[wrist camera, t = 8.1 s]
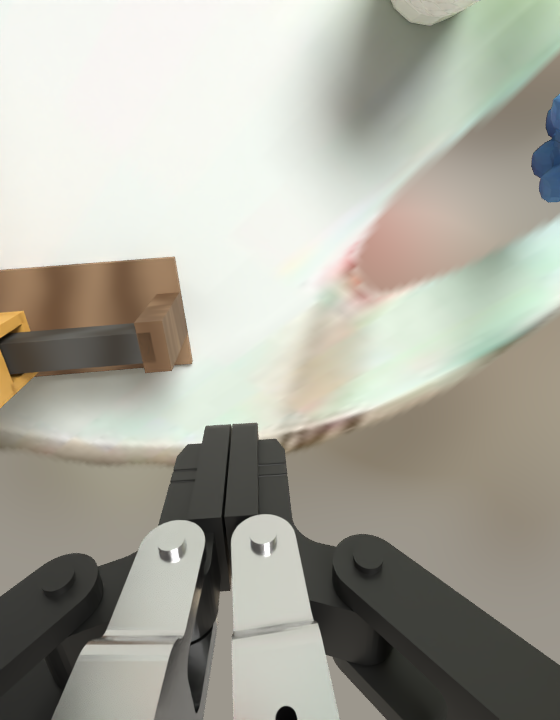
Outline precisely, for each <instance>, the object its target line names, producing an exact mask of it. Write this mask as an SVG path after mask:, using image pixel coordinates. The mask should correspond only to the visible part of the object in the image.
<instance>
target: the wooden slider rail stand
mask: <svg viewBox="0 0 560 720" xmlns="http://www.w3.org/2000/svg"><path fill="white" fill-rule="evenodd" d="M16 311H24V313H25V316H26V319H27V322H28V325H29V328H30V332H17V333H7V334H6V335H4V336H3V337H1V338H0V350H1V353H2V355H3V358H4V361H5V363H6V366H7V368H8V371H9V373H10V374H21V373H33V372H38V373H37V374H36V375H35V376H34V377H37V376H49V375H61V374H73V373H85V372H97V371H109V370H121V369H133V368H144V369H145V373H150V372H162V371H172V369H173V367H174V365H181V364H192V361H193V360H192V354H191V349H190V343H189V337H188V331H187V325H186V319H185V313H184V308H183V302H182V296H181V290H180V284H179V278H178V272H177V267H176V261H175V257H164V258H151V259H138V260H125V261H112V262H99V263H86V264H72V265H59V266H46V267H33V268H20V269H7V270H0V313H3V312H16Z"/></svg>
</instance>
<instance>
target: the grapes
mask: <svg viewBox="0 0 560 720" xmlns="http://www.w3.org/2000/svg"><path fill="white" fill-rule="evenodd" d="M546 130H547V133H548V135H549V136H550V137H552V139H551V140H549V141H547V142H545V143H544V144H543V145H542V146H540V147H539V148H538V149H537V150H536V151H535V152H534V153H533V156H532V165H531V167H532V170H533V172H534V175H536V176H538V177H539V178H541V179H540V184H539V192H540V194H541V197H542V198H543V199H544V200H546V201H547V202H559V201H560V94H559V95H558V96H556V98H554V100H553V104H552V107H551V109H550V110H549V111H548V113H547V118H546Z"/></svg>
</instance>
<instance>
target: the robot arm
mask: <svg viewBox="0 0 560 720" xmlns="http://www.w3.org/2000/svg"><path fill="white" fill-rule="evenodd" d="M231 576H232V590H233V591H232V592H233V623H234V624H233V626H234V627H233V634H232V679H233V680H232V681H233V720H340V719H339V715H338V710H337V705H336V701H335V696H334V691H333V687H332V682H331V678H330V673H329V668H328V664H327V659H326V655H329V656H332V657H333V659H334V661H335V663H336V665H337V666H338V667H339V668H340V670H341V671H342V672H343V673H344V674H345V675H346V676H347V677H348V678H349V679H350V680H351V682H352V683H353V684H354V685H355V686H356V687H357V688H358V689H359V690H360V691H361V692H362V693H363V695H365V697H366V698H367V699H368V700H369V701H370V702H371V703H372V704H373V705H374V706H375V707H376V708H377V710H378V711H379V712H380V713H381V714H382V715H383V716H384V717H385V718H386V719H387V720H560V665H558V664H557V663H556V662H554V661H553V660H551V659H550V658H549V657H547V656H546V655H544V654H543V653H542V652H540V651H539V650H538V649H536V648H535V647H533V646H532V645H531V644H529V643H528V642H526V641H525V640H524V639H522V638H521V637H519V636H518V635H516V634H515V633H514V632H512V631H511V630H510V629H508V628H507V627H505V626H504V625H502V624H501V623H500V622H498V621H497V620H496V619H494V618H493V617H491V616H490V615H489V614H487V613H486V612H484V611H483V610H481V609H480V608H479V607H477V606H476V605H475V604H473V603H472V602H470V601H469V600H468V599H466V598H465V597H463V596H462V595H461V594H459V593H458V592H456V591H455V590H454V589H452V588H451V587H450V586H448V585H447V584H445V583H444V582H442V581H441V580H440V579H438V578H437V577H436V576H434V575H433V574H431V573H430V572H429V571H427V570H426V569H424V568H423V567H422V566H420V565H419V564H417V563H416V562H415V561H413V560H412V559H410V558H409V557H407V556H406V555H405V554H403V553H402V552H401V551H399V550H398V549H396V548H395V547H394V546H392V545H391V544H389V543H388V542H386V541H385V540H383V539H381V538H379V537H376V536H373V535H366V534H359V535H353V536H349V537H347V538H345V539H344V540H343V541H341V542H340V543H339V544H338V545H337V547H334V546H330V545H325V544H321V543H317V542H314V541H312V540H310V539H308V538H306V537H305V536H304V535H302V534H301V533H300V532H299V531H298V530H297V528H296V527H295V525H294V523H293V520H292V513H291V504H290V496H289V486H288V477H287V468H286V459H285V450H284V448H283V447H282V446H281V444H280V443H279V442H278V441H277V439H266V440H259V438H258V424H257V423H245V424H233V425H232V426H231V424H230V425H213V426H206V427H205V431H204V436H203V441H202V444H188V445H187V446H186V447H185V448H184V449H183V450H182V452H181V453H180V454H179V455H178V456H177V459H176V463H175V466H174V472H173V474H172V477H171V484H170V485H169V488H168V492H167V496H166V500H165V503H164V507H163V510H162V514H161V518H160V522H159V525H158V527H156V528H155V529H153V530H152V531H151V532H150V533H148V534H147V535H146V537H145V538H144V540H143V541H142V543H141V545H140V547H139V549H138V551H137V552H135V553H133V554H131V555H129V556H127V557H124V558H122V559H119V560H116V561H113V562H110V563H107V564H104V565H101V566H98V567H97V564H96V562H95V560H94V559H92V558H91V557H90V556H88V555H85V554H80V553H73V554H68V555H63V556H60V557H58V558H55V559H53V560H51V561H49V562H47V563H46V564H44V565H43V566H41V567H40V568H39V569H37V570H36V571H35V572H33V573H32V574H30V575H29V576H28V577H26V578H25V579H24V580H22V581H21V582H20V583H18V584H17V585H15V586H14V587H13V588H11V589H10V590H9V591H7V592H6V593H5V594H3V595H2V596H1V597H0V720H203V717H204V710H205V703H206V697H207V690H208V684H209V678H210V671H211V665H212V659H213V652H214V646H215V639H216V632H217V625H218V624H217V623H218V621H217V613H218V605H219V593H220V591H230V589H231Z"/></svg>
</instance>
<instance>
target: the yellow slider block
mask: <svg viewBox="0 0 560 720" xmlns="http://www.w3.org/2000/svg"><path fill="white" fill-rule="evenodd" d="M17 332H30V328H29V325H28V322H27V319H26V316H25V313H24V311H16V312H3V313H0V338H1V337H3V336H4V335H6V334H7V333H17ZM37 373H38V372H33V373H21V374H10V373H9V371H8V368H7V366H6V363H5V361H4V358H3V355H2V353H1V350H0V408H1V407H2V406H3V405H4V404H5V403H6V402H7V401H8V400H10V399H11V398H12V397H13V396H14V395H15V394H16V393H17V392H18V391H19V390H20V389H21V388H22V387H23V386H25V385H26V384H27V383H28V382H29V381H30V380H31V379H32V378H33V377H34V376H35V375H36V374H37Z"/></svg>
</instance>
